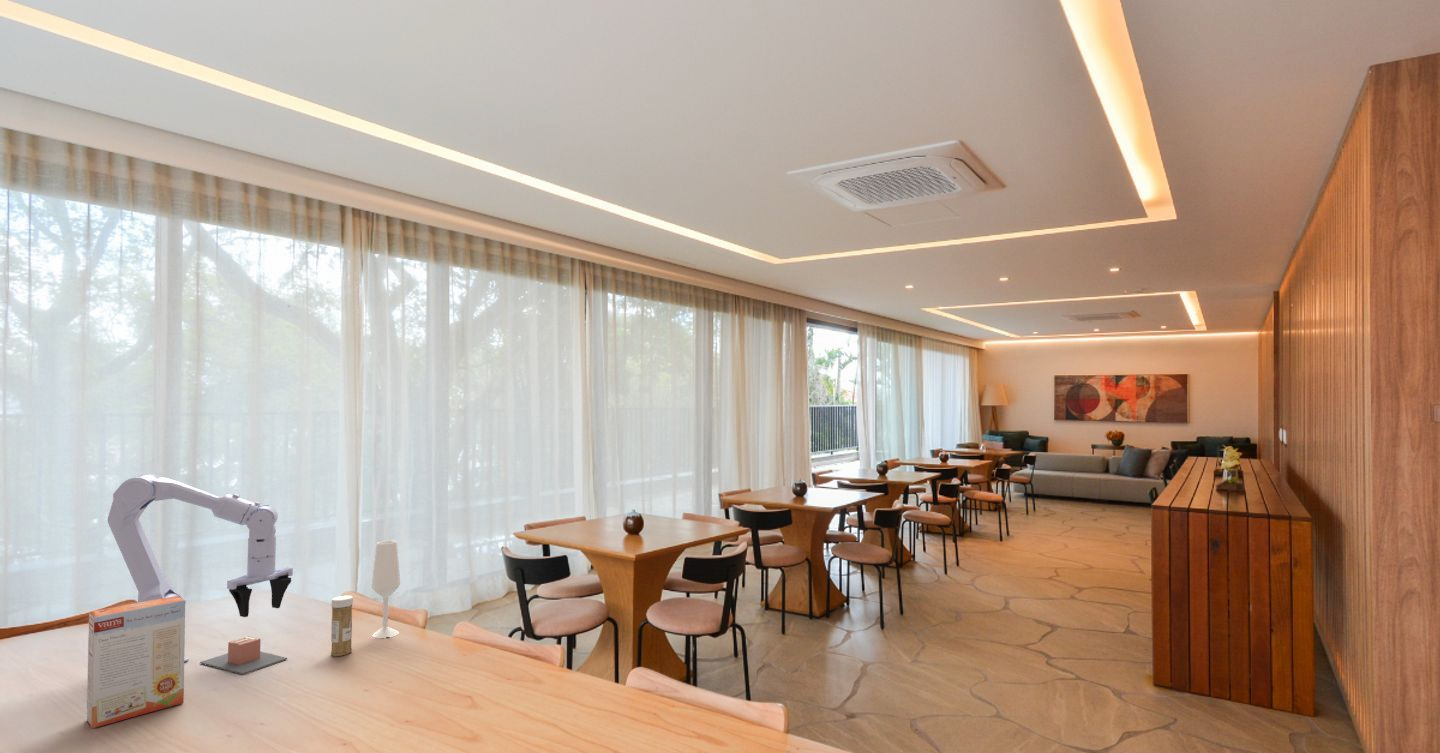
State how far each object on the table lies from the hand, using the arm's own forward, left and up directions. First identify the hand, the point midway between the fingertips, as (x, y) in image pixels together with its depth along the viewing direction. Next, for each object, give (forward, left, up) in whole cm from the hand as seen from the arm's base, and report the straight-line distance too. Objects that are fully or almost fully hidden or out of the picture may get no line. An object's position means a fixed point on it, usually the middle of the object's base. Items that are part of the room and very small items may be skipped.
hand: (260, 611), depth 167 cm
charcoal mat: (+4, -6, -9) cm, 12 cm away
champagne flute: (+18, +21, -10) cm, 29 cm away
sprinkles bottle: (+20, +7, -10) cm, 23 cm away
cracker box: (+12, -31, -10) cm, 35 cm away
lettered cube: (+4, -6, -9) cm, 11 cm away
